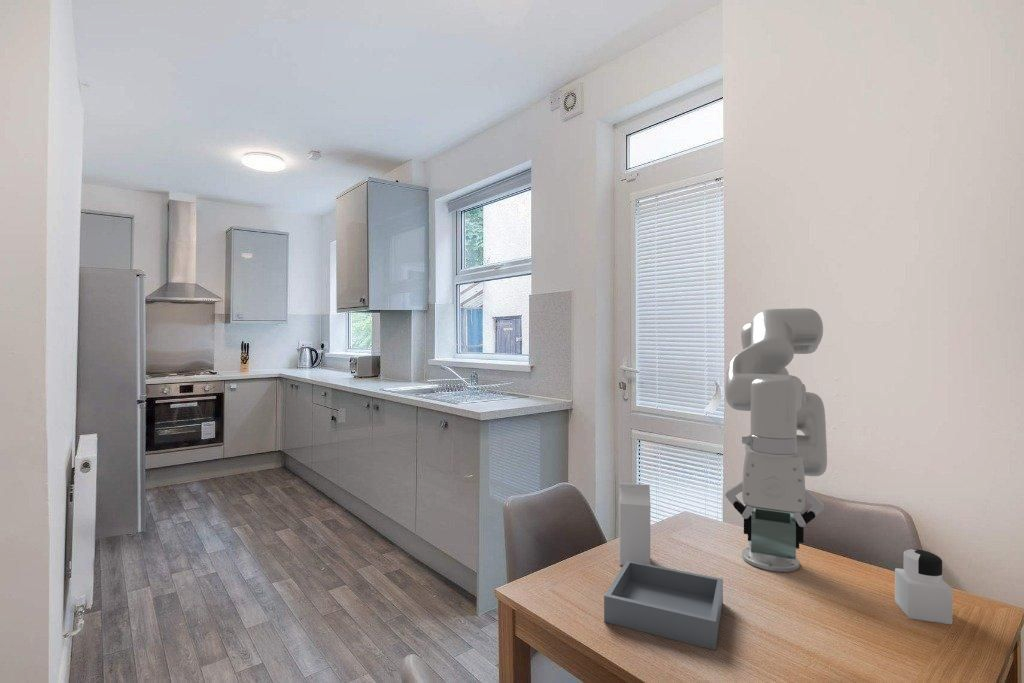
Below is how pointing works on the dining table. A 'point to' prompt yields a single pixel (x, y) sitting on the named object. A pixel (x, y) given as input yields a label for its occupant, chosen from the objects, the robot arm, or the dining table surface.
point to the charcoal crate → (666, 603)
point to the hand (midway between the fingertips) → (772, 541)
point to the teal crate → (773, 533)
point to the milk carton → (634, 523)
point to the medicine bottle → (923, 588)
